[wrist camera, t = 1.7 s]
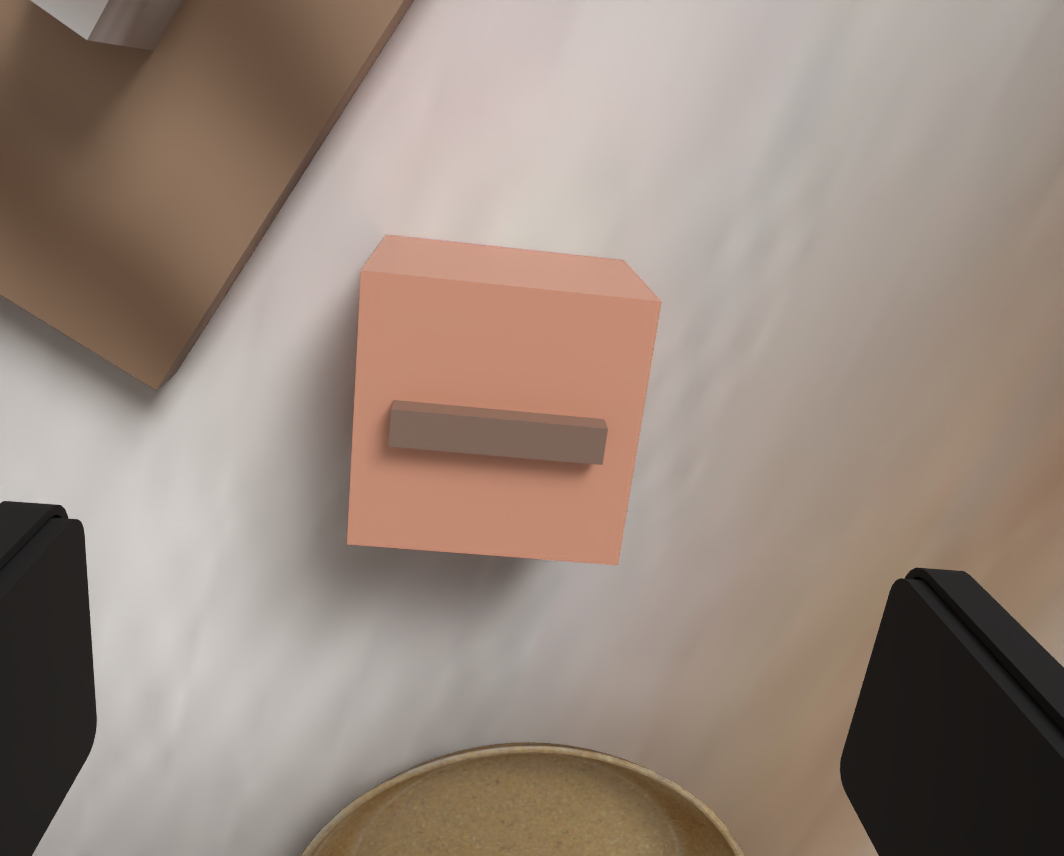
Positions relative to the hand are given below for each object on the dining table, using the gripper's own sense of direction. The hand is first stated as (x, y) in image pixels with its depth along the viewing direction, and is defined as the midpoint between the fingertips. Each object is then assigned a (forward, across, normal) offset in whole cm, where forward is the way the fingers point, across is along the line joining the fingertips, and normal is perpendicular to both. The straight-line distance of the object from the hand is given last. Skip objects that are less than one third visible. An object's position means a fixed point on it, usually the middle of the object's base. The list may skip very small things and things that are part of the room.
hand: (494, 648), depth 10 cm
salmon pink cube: (+14, 0, +1) cm, 14 cm away
